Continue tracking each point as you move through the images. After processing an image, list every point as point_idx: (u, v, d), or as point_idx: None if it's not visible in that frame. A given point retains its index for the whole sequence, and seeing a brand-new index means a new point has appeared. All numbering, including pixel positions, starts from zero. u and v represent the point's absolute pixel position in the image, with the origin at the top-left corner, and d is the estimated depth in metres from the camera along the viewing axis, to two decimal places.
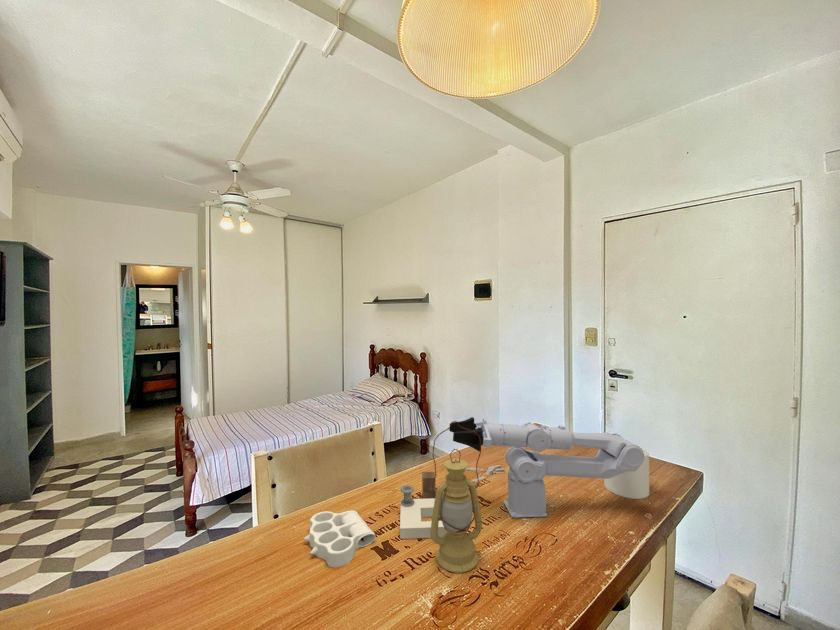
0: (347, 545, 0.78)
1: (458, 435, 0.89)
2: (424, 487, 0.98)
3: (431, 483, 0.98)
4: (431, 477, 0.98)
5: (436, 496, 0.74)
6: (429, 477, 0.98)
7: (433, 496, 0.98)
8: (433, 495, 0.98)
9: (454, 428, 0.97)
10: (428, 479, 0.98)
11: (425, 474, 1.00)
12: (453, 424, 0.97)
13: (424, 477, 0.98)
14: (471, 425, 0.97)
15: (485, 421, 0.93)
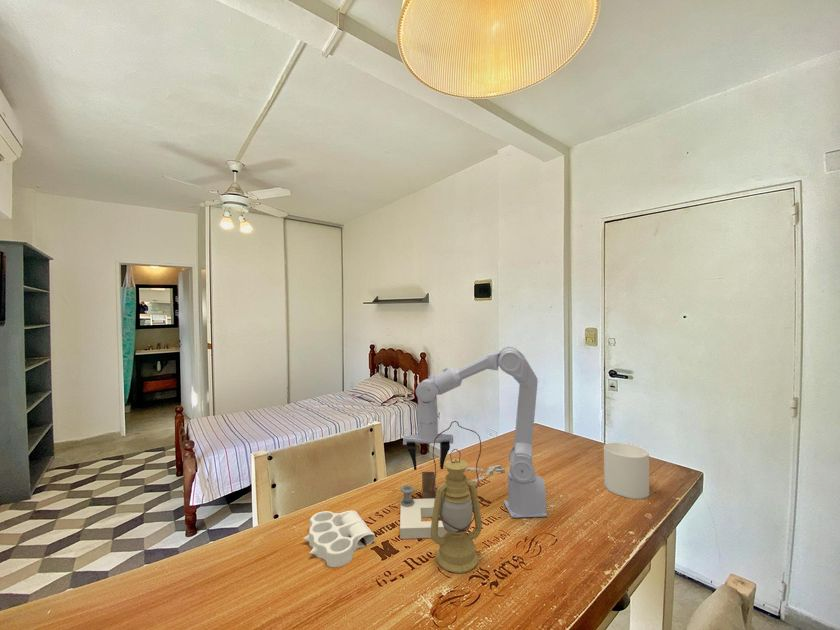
0: (347, 545, 0.78)
1: None
2: (424, 487, 0.98)
3: (431, 483, 0.98)
4: (431, 477, 0.98)
5: (436, 496, 0.74)
6: (429, 477, 0.98)
7: (433, 496, 0.98)
8: (433, 495, 0.98)
9: (440, 462, 1.00)
10: (428, 479, 0.98)
11: (425, 474, 1.00)
12: (440, 462, 1.01)
13: (424, 477, 0.98)
14: (440, 445, 1.01)
15: None
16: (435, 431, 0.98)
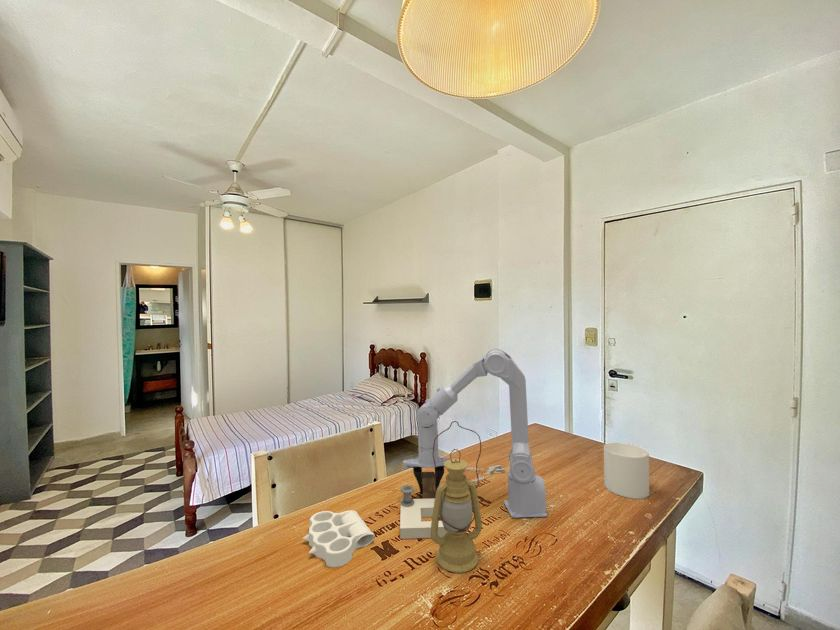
0: (346, 545, 0.78)
1: None
2: (424, 487, 0.98)
3: (431, 483, 0.98)
4: (431, 477, 0.98)
5: (436, 496, 0.74)
6: (429, 477, 0.98)
7: (433, 496, 0.98)
8: (433, 495, 0.98)
9: (435, 487, 1.00)
10: (428, 479, 0.98)
11: (425, 474, 1.00)
12: None
13: (424, 477, 0.98)
14: None
15: None
16: (435, 456, 0.98)
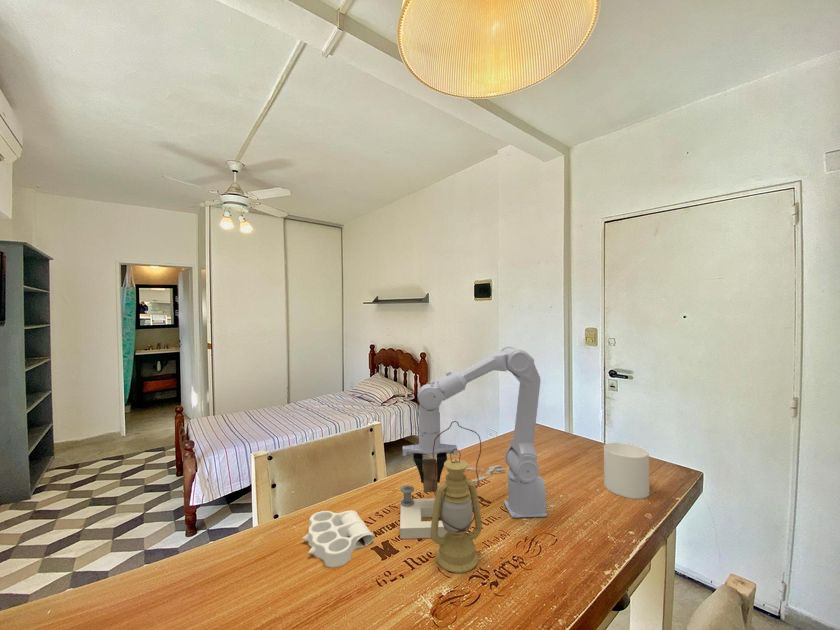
0: (345, 545, 0.78)
1: None
2: (425, 475, 0.90)
3: (432, 471, 0.91)
4: (432, 464, 0.91)
5: (436, 496, 0.74)
6: (431, 464, 0.91)
7: (435, 485, 0.91)
8: (435, 484, 0.91)
9: None
10: (429, 466, 0.91)
11: (426, 462, 0.93)
12: None
13: (425, 464, 0.91)
14: None
15: None
16: (437, 441, 0.90)
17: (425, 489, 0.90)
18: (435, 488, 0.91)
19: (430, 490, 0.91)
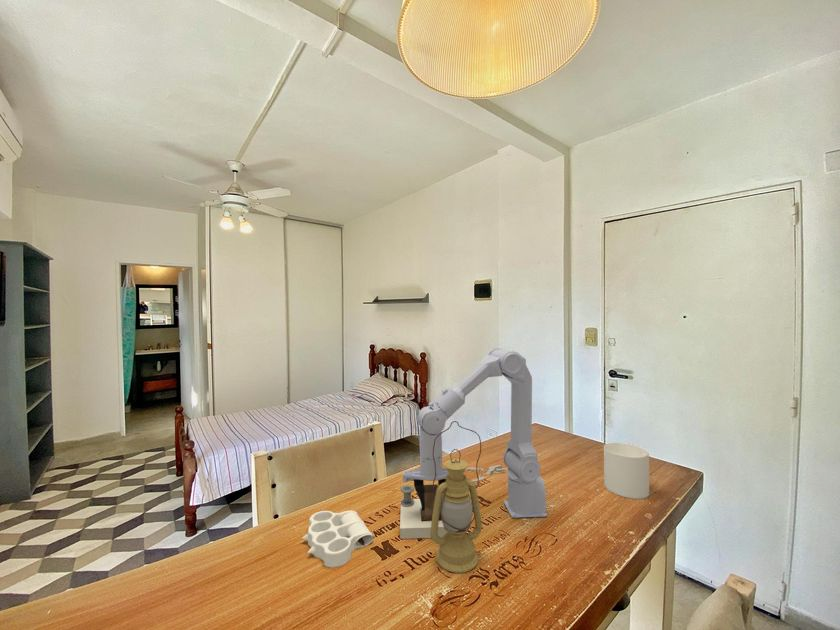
0: (345, 545, 0.78)
1: None
2: (426, 502, 0.86)
3: (434, 498, 0.86)
4: (434, 491, 0.87)
5: (436, 496, 0.74)
6: (432, 491, 0.87)
7: None
8: None
9: None
10: (430, 493, 0.86)
11: (428, 488, 0.88)
12: None
13: (426, 491, 0.87)
14: (438, 482, 0.89)
15: None
16: (439, 467, 0.86)
17: (427, 517, 0.86)
18: None
19: (431, 518, 0.86)
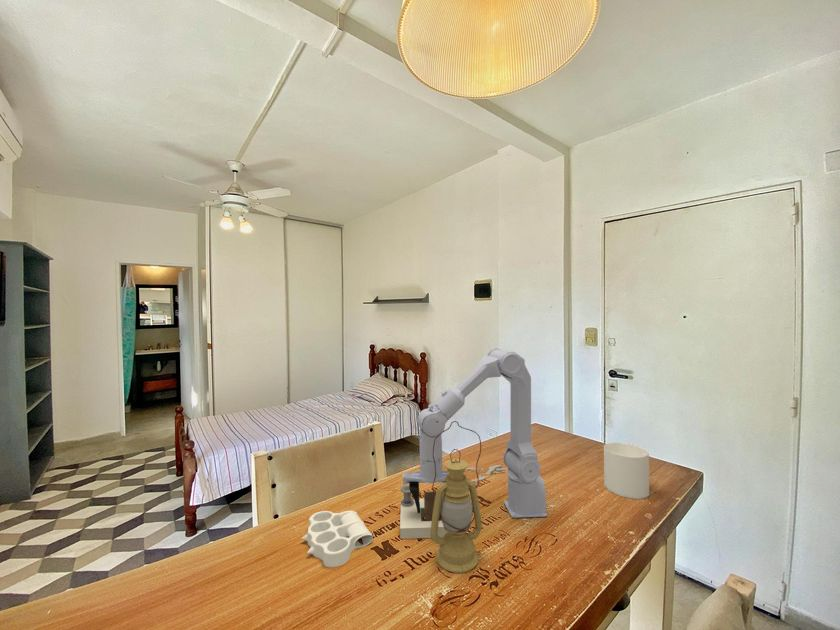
0: (344, 545, 0.78)
1: None
2: (426, 510, 0.86)
3: None
4: (434, 499, 0.87)
5: (436, 496, 0.74)
6: (432, 499, 0.87)
7: None
8: None
9: None
10: (430, 501, 0.86)
11: (428, 495, 0.88)
12: None
13: (426, 499, 0.87)
14: None
15: None
16: (439, 469, 0.86)
17: None
18: None
19: None
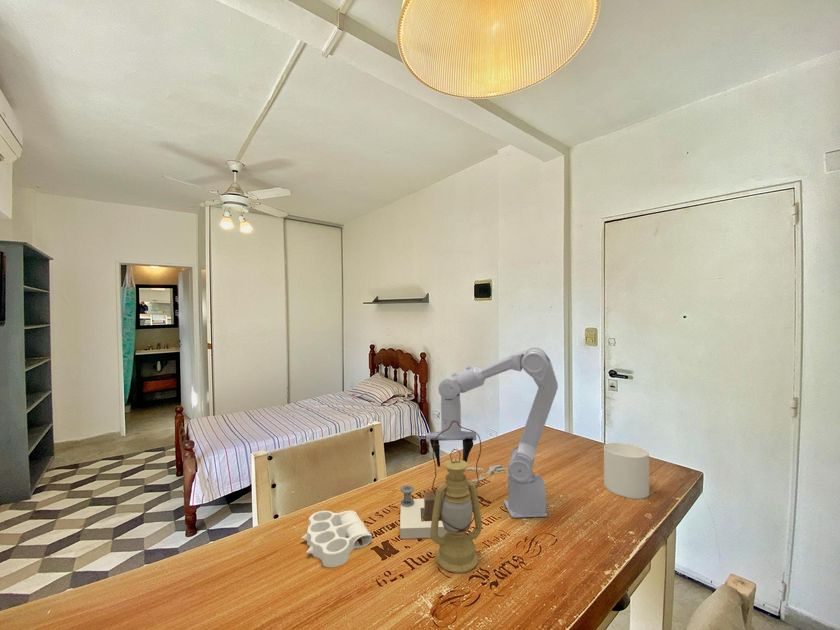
0: (343, 546, 0.78)
1: None
2: (426, 510, 0.86)
3: None
4: (434, 499, 0.87)
5: (436, 496, 0.74)
6: (432, 499, 0.87)
7: None
8: None
9: (463, 459, 1.01)
10: (430, 501, 0.86)
11: (428, 495, 0.88)
12: None
13: (426, 499, 0.87)
14: (463, 442, 1.02)
15: None
16: (459, 428, 0.99)
17: None
18: None
19: None
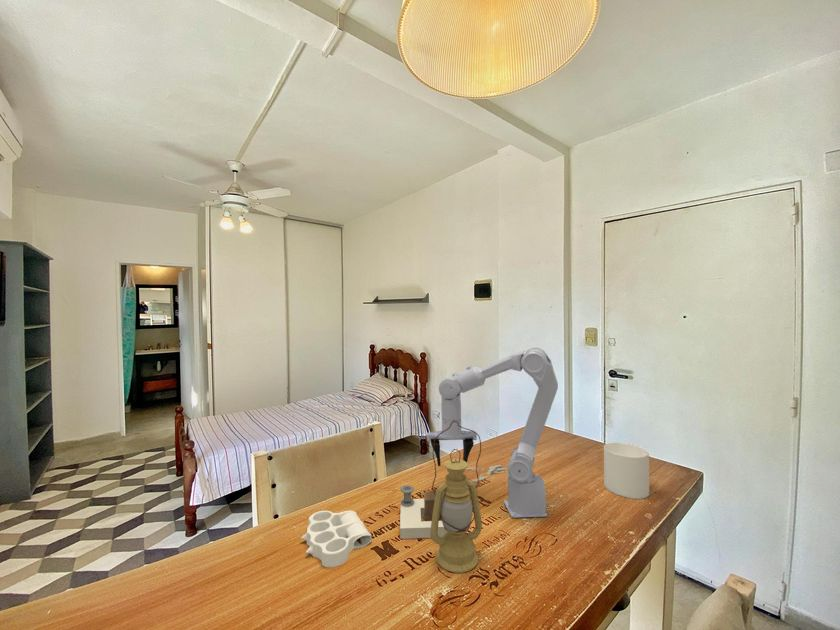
0: (343, 546, 0.78)
1: None
2: (426, 510, 0.86)
3: None
4: (434, 499, 0.87)
5: (436, 496, 0.74)
6: (432, 499, 0.87)
7: None
8: None
9: (464, 459, 1.01)
10: (430, 501, 0.86)
11: (428, 495, 0.88)
12: (463, 459, 1.02)
13: (426, 499, 0.87)
14: (463, 442, 1.02)
15: None
16: (459, 428, 0.99)
17: None
18: None
19: None
